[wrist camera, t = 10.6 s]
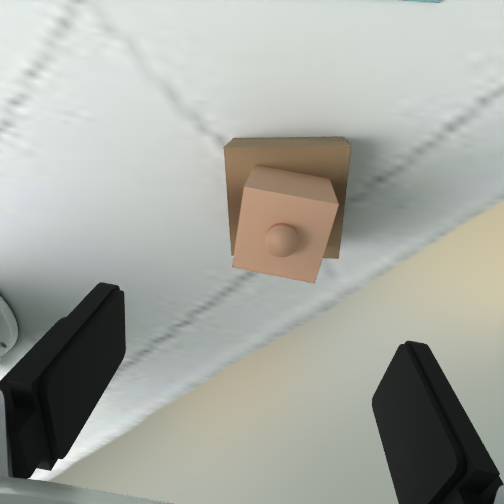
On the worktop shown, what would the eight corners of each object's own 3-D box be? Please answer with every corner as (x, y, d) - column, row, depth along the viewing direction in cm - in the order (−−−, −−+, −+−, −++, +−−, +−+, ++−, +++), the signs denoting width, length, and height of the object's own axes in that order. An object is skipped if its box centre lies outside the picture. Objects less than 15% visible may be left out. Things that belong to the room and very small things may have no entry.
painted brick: (311, 245, 23) (315, 289, 18) (243, 232, 23) (230, 272, 19) (329, 178, 21) (340, 208, 16) (254, 164, 21) (242, 189, 16)
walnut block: (333, 235, 27) (338, 258, 24) (239, 233, 28) (231, 255, 24) (342, 136, 23) (350, 145, 20) (234, 137, 24) (223, 147, 21)
